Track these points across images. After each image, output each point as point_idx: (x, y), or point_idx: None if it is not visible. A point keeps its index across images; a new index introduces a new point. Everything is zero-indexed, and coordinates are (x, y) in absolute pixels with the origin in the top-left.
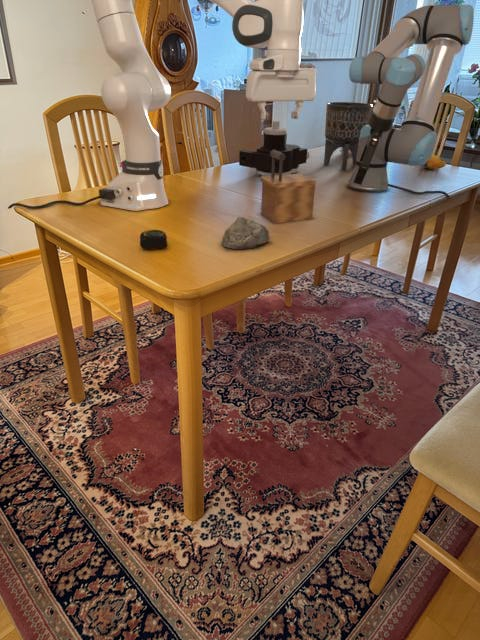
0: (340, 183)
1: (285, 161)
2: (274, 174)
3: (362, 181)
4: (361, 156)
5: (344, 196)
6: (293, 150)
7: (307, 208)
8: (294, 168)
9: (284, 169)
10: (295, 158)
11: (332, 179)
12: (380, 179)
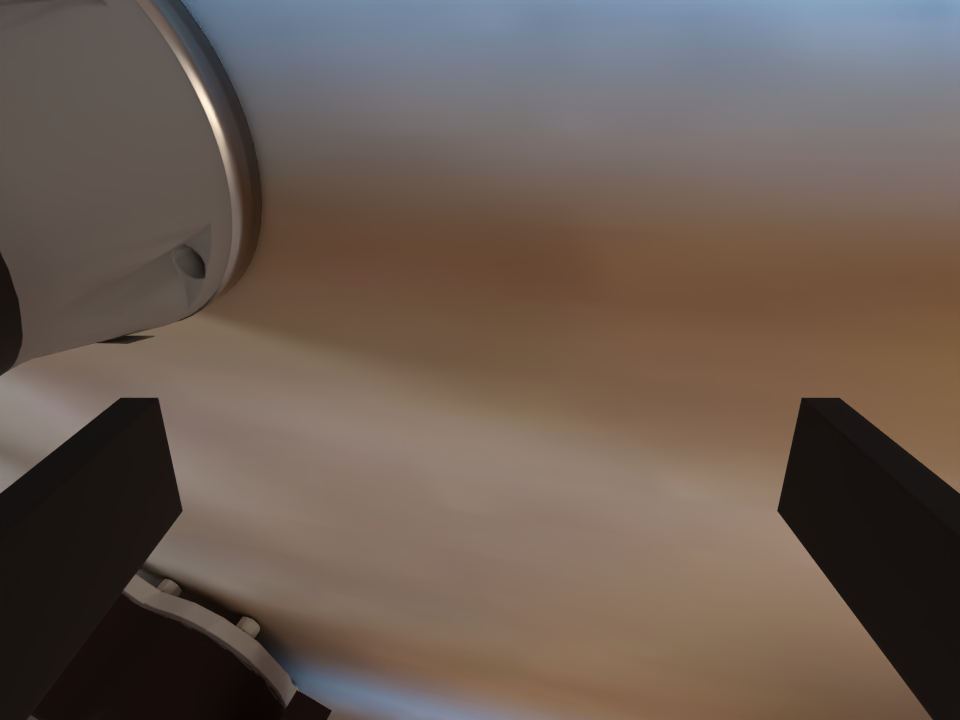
0: (132, 347)
1: (186, 710)
2: (280, 681)
3: (883, 433)
4: (135, 572)
5: (493, 357)
6: (46, 707)
7: None
8: (122, 592)
9: (287, 710)
10: None
11: (79, 386)
12: (42, 27)
